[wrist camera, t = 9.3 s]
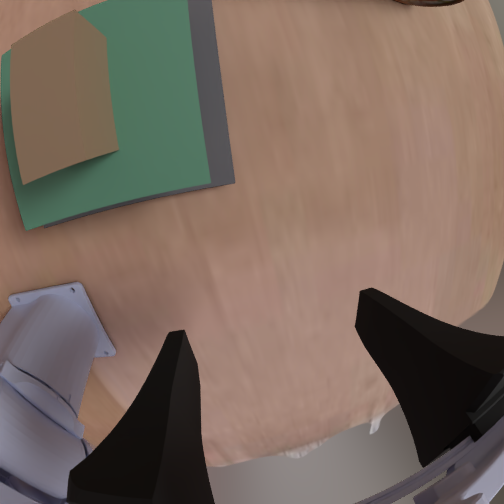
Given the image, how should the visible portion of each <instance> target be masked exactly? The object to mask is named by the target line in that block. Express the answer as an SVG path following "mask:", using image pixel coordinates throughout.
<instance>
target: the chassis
mask: <svg viewBox="0 0 504 504" xmlns="http://www.w3.org/2000/svg"><path fill="white" fill-rule="evenodd" d="M187 1H188V12H189V22H190V31H191V40H192V49H193V58H194V66H195V74H196V82H197V90H198V98H199V105H200V112H201V119H202V126H203V133H204V140H205V147H206V153H207V160H208V166H209V173H210V179H211V183H209V184H204V185H198V186H193V187H188V188H183V189H178V190H173V191H168V192H164V193H159V194H155V195H150V196H146V197H141V198H137V199H133V200H129V201H125V202H121V203H117V204H113V205H109V206H105V207H102V208H98V209H94V210H91V211H87V212H84V213H80V214H77V215H74V216H70V217H67V218H64V219H61V220H57V221H54V222H51V223H48V224H45V225H44V228H47V227H50V226H53V225H57V224H60V223H63V222H66V221H70V220H73V219H77V218H80V217H83V216H87V215H91V214H94V213H98V212H102V211H105V210H109V209H113V208H117V207H121V206H125V205H129V204H133V203H137V202H142V201H146V200H150V199H155V198H159V197H164V196H169V195H174V194H178V193H183V192H188V191H194V190H199V189H204V188H210V187H215V186H221V185H227V184H233V183H235V177H234V169H233V162H232V155H231V147H230V140H229V133H228V125H227V118H226V110H225V103H224V95H223V87H222V80H221V72H220V64H219V56H218V49H217V41H216V33H215V25H214V17H213V8H212V0H187Z"/></svg>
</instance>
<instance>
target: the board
mask: <svg viewBox="0 0 504 504" xmlns="http://www.w3.org/2000/svg"><path fill="white" fill-rule="evenodd" d="M1 109H2V122H3V132H4V140H5V147H6V153H7V159H8V165H9V170H10V175H11V179H12V184H13V188H14V192H15V196H16V200H17V203H18V207H19V210H20V214H21V217H22V220H23V224H24V227H25V230H26V231H27V230H30V229H33V228H36V227H39V226H42V225H45V224H48V223H51V222H54V221H57V220H61V219H64V218H67V217H70V216H74V215H77V214H80V213H84V212H87V211H91V210H94V209H98V208H102V207H105V206H109V205H113V204H117V203H121V202H125V201H129V200H133V199H137V198H141V197H146V196H150V195H155V194H159V193H164V192H168V191H173V190H178V189H183V188H188V187H193V186H198V185H204V184H209V183H211V179H210V173H209V166H208V160H207V153H206V147H205V140H204V133H203V126H202V119H201V112H200V105H199V98H198V90H197V82H196V74H195V66H194V58H193V49H192V40H191V31H190V22H189V12H188V1H187V0H107V1H104V2H102V3H99V4H96V5H94V6H91V7H89V8H86V9H84V10H81V11H79V12H77V11H76V10H73V11H71V12H69V13H67V14H64V15H62V16H60V17H58V18H56V19H54V20H52V21H51V22H49V23H47V24H45V25H43V26H41V27H40V28H38V29H36V30H34V31H33V32H31V33H29V34H28V35H26V36H24V37H23V38H21V39H20V40H18V41H17V42H15V43H14V44H12V45H11V49H10V50H9V51H7V52H6V53H5V54H3V55H2V59H1Z"/></svg>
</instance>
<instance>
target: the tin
mask: <svg viewBox="0 0 504 504" xmlns="http://www.w3.org/2000/svg"><path fill="white" fill-rule="evenodd" d="M394 1H397V2H401V3H404V4H409V5H415V6H424V7H439V6H449V5H454V4H457V3H460V2H462V1H464V0H394Z"/></svg>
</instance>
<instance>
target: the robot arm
mask: <svg viewBox="0 0 504 504" xmlns="http://www.w3.org/2000/svg"><path fill="white" fill-rule="evenodd" d="M72 288H73V289H74V290H75V291H74V290H72ZM8 299H9V302H10V304H11V306H12V308H11V309H10V310H9V312H8V313H7V314H6V316H5V317H4V319H3V320H2V322H1V323H0V504H215V503H214V499H213V495H212V491H211V487H210V482H209V478H208V473H207V468H206V463H205V457H204V451H203V445H202V435H201V398H200V380H199V372H198V364H197V361H196V359H195V356H194V354H193V351H192V349H191V346H190V343H189V341H188V338H187V335H186V332H185V330H179V331H172V332H169V333H168V335H167V337H166V339H165V342H164V344H163V346H162V348H161V351H160V353H159V355H158V357H157V359H156V361H155V363H154V365H153V367H152V369H151V371H150V373H149V375H148V377H147V379H146V381H145V383H144V384H143V386H142V388H141V390H140V391H139V393H138V395H137V396H136V398H135V400H134V401H133V403H132V404H131V406H130V407H129V409H128V410H127V412H126V413H125V415H124V416H123V417H122V418H121V420H120V421H119V422H118V424H117V425H116V426H115V428H114V429H113V430H112V431H111V432H110V434H109V435H108V436H107V437H106V438H105V439H104V440H103V441H102V442H101V443H100V444H99V445H98V446H97V447H96V449H95V450H94V451H93V450H92V448H91V446H90V445H89V443H88V442H87V441H86V440H85V439H84V438H83V432H84V427H85V426H84V425H83V424H81V423H80V422H79V421H78V420H77V418H78V414H79V409H80V405H81V401H82V397H83V393H84V390H85V386H86V382H87V379H88V375H89V372H90V368H91V365H92V362H93V359H94V357H108V356H114V355H115V354H116V350H115V348H114V346H113V344H112V343H111V341H110V339H109V337H108V335H107V334H106V332H105V330H104V328H103V326H102V324H101V322H100V320H99V318H98V317H97V315H96V313H95V311H94V308H93V306H92V304H91V302H90V300H89V298H88V296H87V294H86V292H85V289H84V287H83V285H82V284H81V283H79V282H73V283H68V284H63V285H58V286H52V287H47V288H42V289H37V290H32V291H27V292H22V293H17V294H12V295H10V296H9V298H8ZM355 328H356V330H357V333H358V335H359V337H360V339H361V341H362V343H363V345H364V346H365V348H366V349H367V351H368V352H369V354H370V355H371V357H372V358H373V360H374V361H375V363H376V364H377V366H378V367H379V369H380V370H381V372H382V373H383V375H384V376H385V378H386V379H387V381H388V382H389V384H390V385H391V387H392V389H393V391H394V393H395V395H396V397H397V399H398V401H399V403H400V405H401V408H402V410H403V412H404V415H405V417H406V419H407V422H408V425H409V428H410V430H411V433H412V436H413V439H414V443H415V446H416V450H417V454H418V458H419V462H420V463H421V465H422V467H423V468H424V467H425V468H424V469H422V470H420V471H419V472H417V473H415V474H414V475H412V476H410V477H409V478H407V479H405V480H403V481H401V482H399V483H398V484H396V485H394V486H392V487H390V488H388V489H386V490H384V491H382V492H380V493H378V494H375V495H373V496H371V497H369V498H367V499H364V500H362V501H360V502H357V503H355V504H391V503H393V502H395V501H397V500H399V499H401V498H402V497H404V496H406V495H408V494H410V493H411V492H413V491H415V490H416V489H418V488H420V487H421V486H423V485H424V484H426V483H428V482H429V481H431V480H432V479H434V478H435V477H436V476H438V475H440V474H441V473H442V472H444V471H445V470H447V469H448V470H447V474H446V476H445V477H444V478H442V479H441V480H439V481H438V482H436V483H434V484H433V485H431V486H430V487H428V488H427V489H425V490H424V491H422V492H420V493H419V494H417V495H416V496H414V498H413V499H414V502H415V504H489V502H490V501H491V499H492V498H493V497H494V496H495V495H496V493H497V492H498V491H499V490H500V488H501V487H502V486H503V485H504V336H495V335H488V334H483V333H478V332H474V331H470V330H466V329H462V328H459V327H456V326H453V325H450V324H448V323H445V322H442V321H440V320H437V319H435V318H433V317H430V316H428V315H426V314H424V313H422V312H420V311H418V310H416V309H414V308H412V307H410V306H408V305H406V304H404V303H402V302H400V301H398V300H396V299H394V298H392V297H390V296H389V295H387V294H385V293H383V292H381V291H379V290H377V289H374V288H368V289H365V290H361V291H360V294H359V302H358V309H357V316H356V323H355ZM449 450H450V451H449ZM448 451H449V452H448ZM445 453H446V454H445ZM444 454H445V455H444ZM442 455H443V456H442ZM441 456H442V457H441ZM439 457H440V458H439ZM438 458H439V459H438ZM436 459H437V460H436ZM435 460H436V461H435ZM433 461H434V462H433ZM432 462H433V463H432ZM430 463H431V464H430ZM429 464H430V465H429ZM427 465H428V466H427ZM426 466H427V467H426Z"/></svg>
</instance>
